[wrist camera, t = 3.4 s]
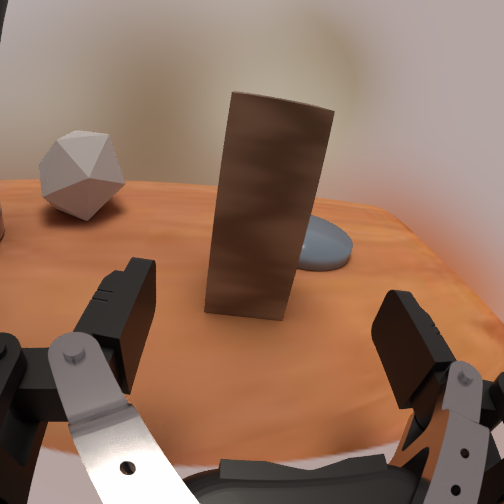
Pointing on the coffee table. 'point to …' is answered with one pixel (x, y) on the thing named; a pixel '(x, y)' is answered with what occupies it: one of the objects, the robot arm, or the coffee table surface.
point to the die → (80, 173)
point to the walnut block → (264, 203)
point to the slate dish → (324, 246)
